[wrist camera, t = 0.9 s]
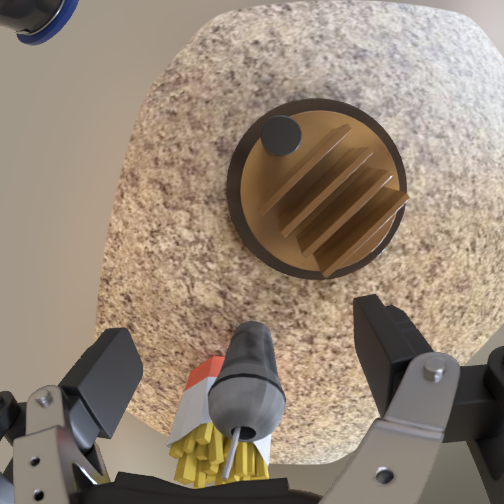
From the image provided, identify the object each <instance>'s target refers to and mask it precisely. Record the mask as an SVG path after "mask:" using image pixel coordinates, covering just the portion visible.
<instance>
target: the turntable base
mask: <svg viewBox="0 0 504 504" xmlns="http://www.w3.org/2000/svg"><path fill="white" fill-rule="evenodd" d="M308 111H331V112H337V113H341V114H344V115H347V116H349V117H352V118H354V119H356V120H358V121H359V122H361V123H363V124H364V125H366V126H367V127H368V128H370V129H371V130H372V131H373V132H374V133H375V134H376V135H377V136H378V137H379V138H380V139H381V141H382V142H383V143H384V145H385V146H386V147H387V149H388V151H389V153H390V154H391V156H392V159H393V161H394V164H395V167H396V170H397V174H398V181H399V191H401V192H405V193H407V182H406V174H405V169H404V165H403V162H402V159H401V156H400V154H399V152H398V149H397V147H396V145H395V144H394V142H393V140H392V139H391V137H390V136H389V135H388V133H387V132H386V131H385V130H384V128H383V127H382V126H381V125H380V124H379V123H378V122H377V121H375V120H374V119H373V118H372V117H370V116H369V115H368V114H366V113H365V112H363V111H362V110H360V109H358V108H356V107H354V106H352V105H349V104H346V103H344V102H341V101H336V100H332V99H323V98H309V99H301V100H296V101H292V102H289V103H286V104H283V105H280V106H278V107H277V108H275V109H273V110H271V111H269V112H268V113H266V114H265V115H263V116H262V117H261V118H259V119H258V120H257V121H256V122H255V123H254V124H253V125H252V126H251V127H250V128H249V129H248V131H247V132H246V133H245V134H244V135H243V137H242V139H241V140H240V142H239V144H238V145H237V147H236V149H235V152H234V154H233V156H232V159H231V162H230V166H229V170H228V176H227V201H228V207H229V211H230V215H231V218H232V221H233V223H234V226H235V228H236V230H237V232H238V234H239V235H240V237H241V239H242V240H243V242H244V243H245V244H246V245H247V247H248V248H249V249H250V250H251V251H252V252H253V253H254V254H255V255H256V256H257V257H258V258H259V259H260V260H262V261H263V262H264V263H266V264H267V265H269V266H270V267H272V268H274V269H275V270H277V271H280V272H282V273H284V274H287V275H290V276H293V277H297V278H302V279H310V280H324V279H333V278H337V277H341V276H345V275H347V274H350V273H353V272H355V271H357V270H359V269H361V268H362V267H364V266H366V265H367V264H368V263H370V262H371V261H373V260H374V259H375V258H376V257H377V256H378V255H379V254H380V253H382V251H383V250H384V249H385V248H386V247H387V246H388V244H389V243H390V241H391V240H392V238H393V237H394V235H395V234H396V232H397V229H398V227H399V225H400V223H401V220H402V217H403V214H404V210H405V205H406V203H405V204H404V205H403V206H402V207H401V208H400V209H399V210H398V211H397V212H396V216H395V218H394V221H393V223H392V226H391V228H390V229H389V231H388V233H387V235H386V236H385V238H384V239H383V240H382V242H381V243H380V244H379V245H378V246H377V247H376V248H375V249H374V250H373V251H372V252H371V253H370V254H368V255H367V256H366V257H364V258H363V259H361V260H359V261H358V262H356V263H353V264H351V265H349V266H346V267H343V268H340V269H336V270H335V271H334V272H333V273H332V274H330V275H329V276H328V277H327V278H325V277H324V276H323V275H322V274H321V271H311V270H305V269H300V268H297V267H294V266H291V265H289V264H287V263H285V262H283V261H281V260H279V259H278V258H276V257H275V256H273V255H272V254H271V253H270V252H268V251H267V250H266V249H265V248H264V247H263V246H262V245H261V244H260V243H259V242H258V240H257V239H256V237H255V236H254V234H253V233H252V231H251V229H250V227H249V226H248V224H247V221H246V218H245V216H244V213H243V208H242V203H241V193H240V190H241V178H242V173H243V169H244V166H245V163H246V160H247V158H248V156H249V153H250V151H251V150H252V148H253V147H254V145H255V144H256V142H257V141H258V140H259V139H260V132H261V128H262V126H263V124H264V123H265V122H266V121H267V120H268V119H269V118H271V117H273V116H277V115H284V116H288V117H290V116H292V115H295V114H298V113H302V112H308Z"/></svg>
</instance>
